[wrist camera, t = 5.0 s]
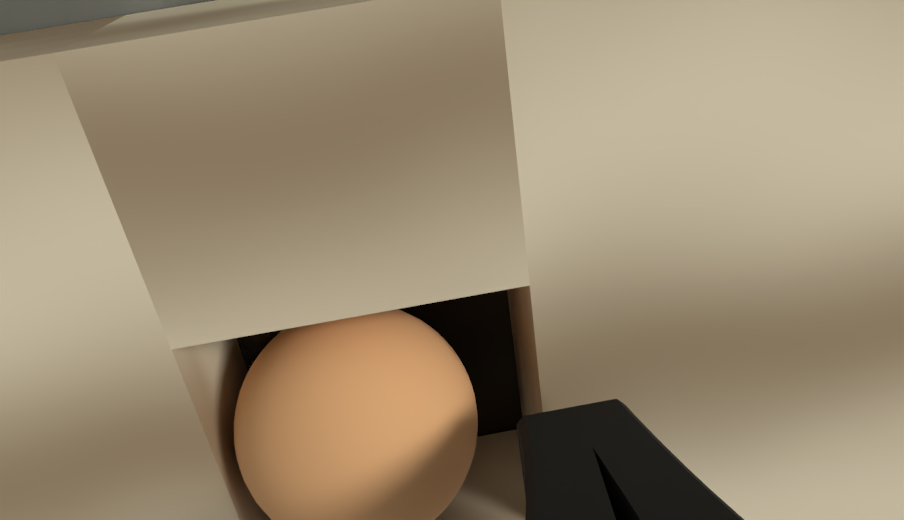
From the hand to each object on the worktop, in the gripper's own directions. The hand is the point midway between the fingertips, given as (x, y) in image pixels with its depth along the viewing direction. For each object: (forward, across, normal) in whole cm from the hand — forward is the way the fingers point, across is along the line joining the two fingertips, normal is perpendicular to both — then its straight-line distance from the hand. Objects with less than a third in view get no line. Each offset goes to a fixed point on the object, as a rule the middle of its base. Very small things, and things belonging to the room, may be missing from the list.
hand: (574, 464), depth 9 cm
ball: (+2, +3, 0) cm, 3 cm away
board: (+3, 0, 0) cm, 3 cm away
